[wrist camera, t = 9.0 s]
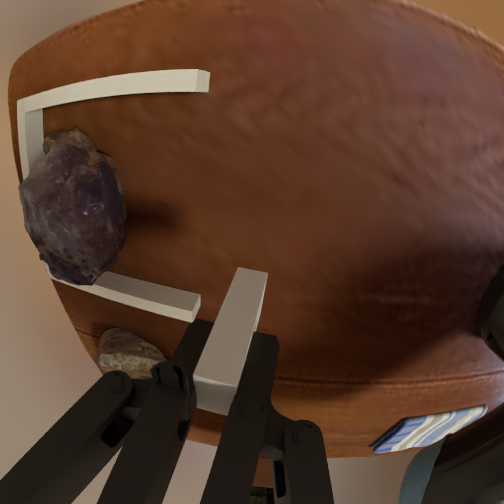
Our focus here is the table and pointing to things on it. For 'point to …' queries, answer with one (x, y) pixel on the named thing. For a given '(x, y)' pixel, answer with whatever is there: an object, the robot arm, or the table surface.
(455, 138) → the table surface
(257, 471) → the potted plant
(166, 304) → the bay
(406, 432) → the dish towel
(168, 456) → the robot arm
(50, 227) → the rock
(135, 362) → the oyster shell
